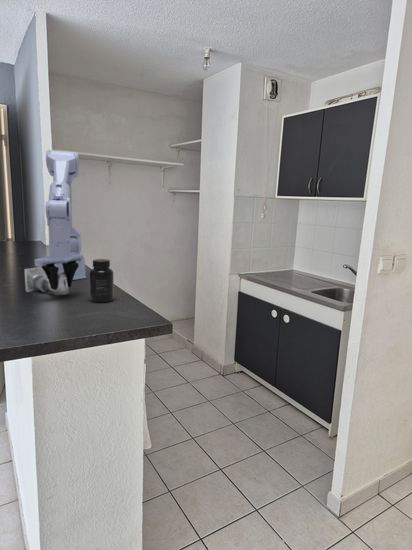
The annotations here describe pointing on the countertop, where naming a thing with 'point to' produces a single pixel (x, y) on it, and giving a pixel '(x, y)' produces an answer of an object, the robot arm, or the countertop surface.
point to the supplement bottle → (101, 281)
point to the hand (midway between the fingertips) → (61, 287)
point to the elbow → (59, 284)
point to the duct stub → (35, 280)
